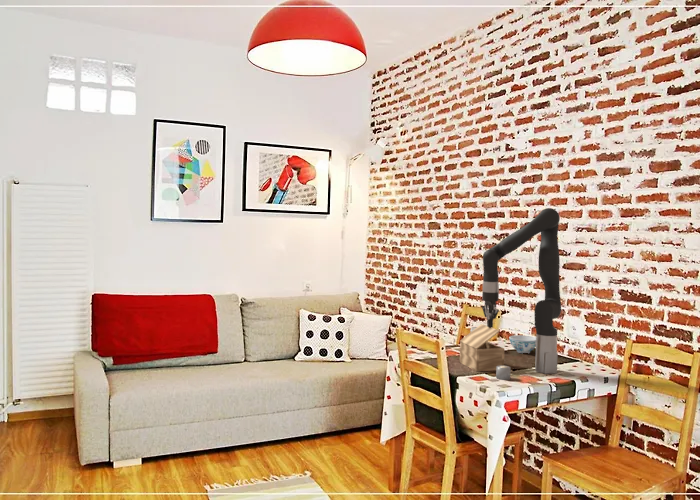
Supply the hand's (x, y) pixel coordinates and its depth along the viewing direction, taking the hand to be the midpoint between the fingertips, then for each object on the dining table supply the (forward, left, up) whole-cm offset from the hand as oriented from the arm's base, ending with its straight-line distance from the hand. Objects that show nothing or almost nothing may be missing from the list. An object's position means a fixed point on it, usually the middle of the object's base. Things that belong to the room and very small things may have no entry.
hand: (489, 327), depth 288 cm
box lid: (0, +5, -5) cm, 7 cm away
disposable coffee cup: (+33, -11, -19) cm, 40 cm away
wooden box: (0, +4, -19) cm, 19 cm away
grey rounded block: (-23, +5, -19) cm, 30 cm away
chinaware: (+25, -33, -19) cm, 46 cm away
